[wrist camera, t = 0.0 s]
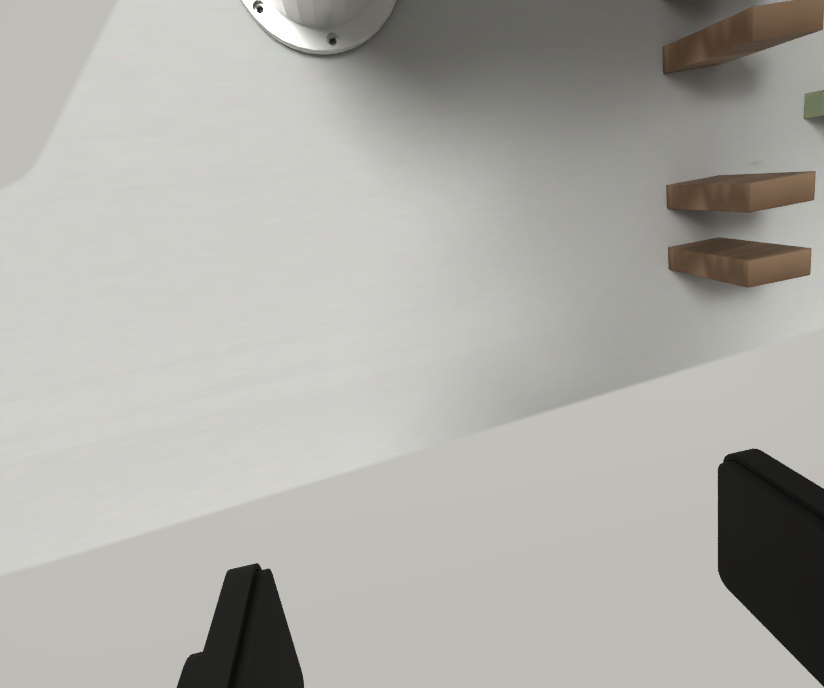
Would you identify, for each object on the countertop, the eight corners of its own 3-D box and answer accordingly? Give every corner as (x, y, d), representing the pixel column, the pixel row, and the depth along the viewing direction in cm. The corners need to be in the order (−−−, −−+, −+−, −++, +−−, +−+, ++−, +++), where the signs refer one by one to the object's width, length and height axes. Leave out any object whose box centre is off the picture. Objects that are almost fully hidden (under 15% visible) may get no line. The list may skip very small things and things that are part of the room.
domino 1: (662, 47, 44) (753, 6, 34) (719, 37, 44) (824, -5, 34) (663, 74, 44) (752, 41, 35) (719, 64, 45) (822, 29, 35)
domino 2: (666, 185, 47) (750, 183, 37) (719, 175, 47) (815, 171, 38) (667, 208, 47) (749, 212, 38) (719, 198, 48) (814, 200, 38)
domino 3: (668, 247, 48) (748, 261, 39) (719, 237, 49) (811, 248, 39) (668, 269, 49) (748, 287, 39) (719, 258, 49) (810, 274, 40)
